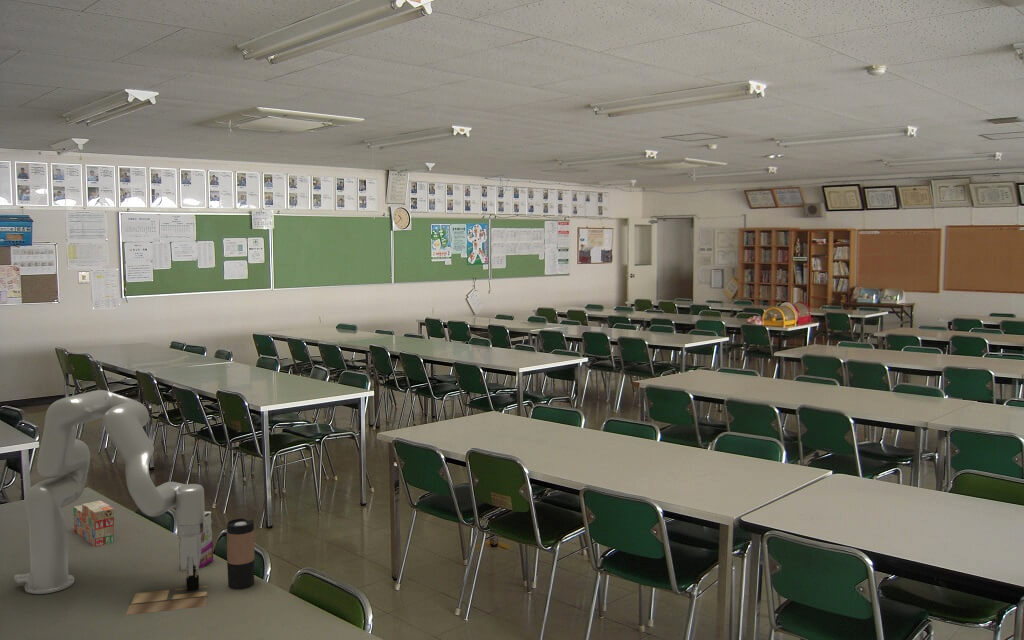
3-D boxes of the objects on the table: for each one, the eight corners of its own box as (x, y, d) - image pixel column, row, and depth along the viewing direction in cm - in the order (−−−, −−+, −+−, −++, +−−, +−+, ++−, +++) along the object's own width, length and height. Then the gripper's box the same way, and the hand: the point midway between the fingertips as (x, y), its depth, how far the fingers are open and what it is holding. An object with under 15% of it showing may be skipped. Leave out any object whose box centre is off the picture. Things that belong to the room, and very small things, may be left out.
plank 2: (172, 603, 221) (172, 598, 220) (175, 593, 227) (174, 589, 227) (206, 599, 223) (206, 595, 223) (208, 590, 230) (208, 585, 230)
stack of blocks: (73, 532, 278) (72, 498, 277) (92, 527, 282) (91, 494, 281) (95, 547, 263) (94, 511, 262) (114, 543, 267) (114, 507, 267)
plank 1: (131, 607, 217) (131, 603, 217) (135, 597, 224) (135, 593, 224) (166, 603, 220) (166, 599, 220) (169, 593, 227) (169, 589, 227)
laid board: (125, 619, 210) (125, 614, 210) (130, 608, 217) (130, 603, 217) (205, 610, 216) (205, 605, 216) (207, 599, 223) (207, 595, 223)
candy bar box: (199, 559, 253) (198, 510, 252) (213, 561, 252) (212, 511, 251) (178, 573, 242) (177, 521, 241) (192, 574, 241) (192, 522, 240)
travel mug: (229, 595, 226) (228, 527, 225) (225, 585, 233) (224, 520, 231) (256, 590, 230) (256, 524, 228) (252, 581, 236) (251, 516, 235)
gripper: (179, 521, 232) (181, 581, 233) (174, 537, 218) (176, 601, 219) (206, 518, 234) (208, 578, 235) (203, 535, 220) (204, 598, 221)
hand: (192, 589), depth 227 cm, fingers closed
